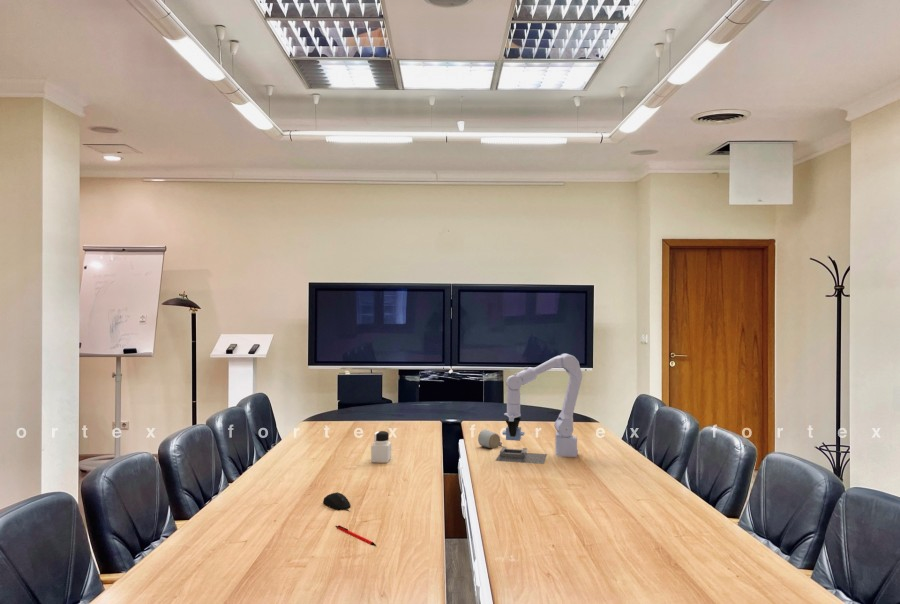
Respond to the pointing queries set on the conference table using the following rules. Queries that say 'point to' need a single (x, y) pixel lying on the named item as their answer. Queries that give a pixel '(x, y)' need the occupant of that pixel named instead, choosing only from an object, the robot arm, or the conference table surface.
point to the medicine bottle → (381, 447)
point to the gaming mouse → (337, 501)
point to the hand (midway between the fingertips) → (513, 435)
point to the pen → (355, 535)
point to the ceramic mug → (489, 439)
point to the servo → (517, 437)
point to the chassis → (520, 456)
